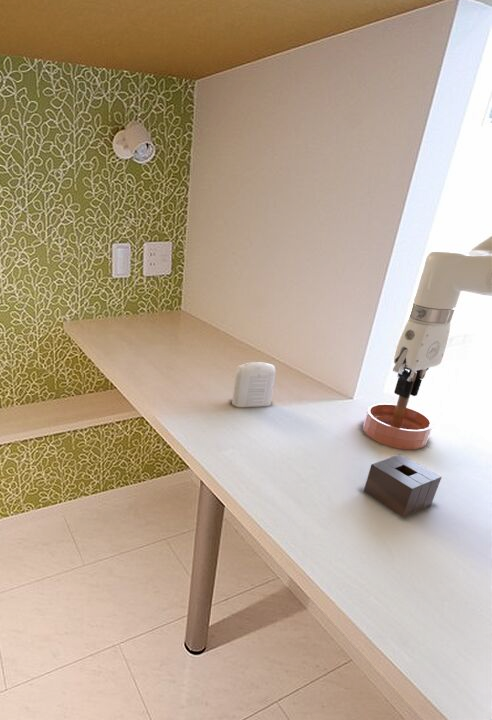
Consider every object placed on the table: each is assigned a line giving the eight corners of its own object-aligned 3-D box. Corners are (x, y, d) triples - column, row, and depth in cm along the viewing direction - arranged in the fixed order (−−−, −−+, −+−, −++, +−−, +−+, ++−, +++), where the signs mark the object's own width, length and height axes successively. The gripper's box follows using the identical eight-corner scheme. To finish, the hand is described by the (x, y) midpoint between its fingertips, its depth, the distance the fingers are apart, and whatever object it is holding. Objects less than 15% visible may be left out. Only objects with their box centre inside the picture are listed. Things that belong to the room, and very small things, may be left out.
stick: (395, 432, 102) (414, 369, 96) (399, 437, 101) (419, 373, 94) (386, 432, 103) (405, 369, 96) (390, 436, 101) (409, 373, 94)
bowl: (408, 424, 107) (414, 404, 105) (437, 454, 95) (445, 432, 93) (353, 422, 108) (358, 402, 106) (375, 451, 96) (381, 429, 94)
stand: (390, 483, 86) (400, 453, 83) (430, 508, 79) (442, 476, 76) (362, 494, 82) (371, 464, 79) (401, 521, 76) (412, 489, 73)
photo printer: (266, 401, 118) (272, 358, 112) (272, 408, 114) (279, 364, 109) (229, 403, 117) (234, 360, 111) (234, 410, 113) (240, 366, 107)
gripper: (423, 323, 83) (396, 408, 91) (472, 314, 89) (443, 395, 97) (388, 313, 89) (366, 394, 97) (436, 306, 95) (412, 382, 103)
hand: (405, 394), depth 97 cm, fingers closed on stick, 2 cm apart
